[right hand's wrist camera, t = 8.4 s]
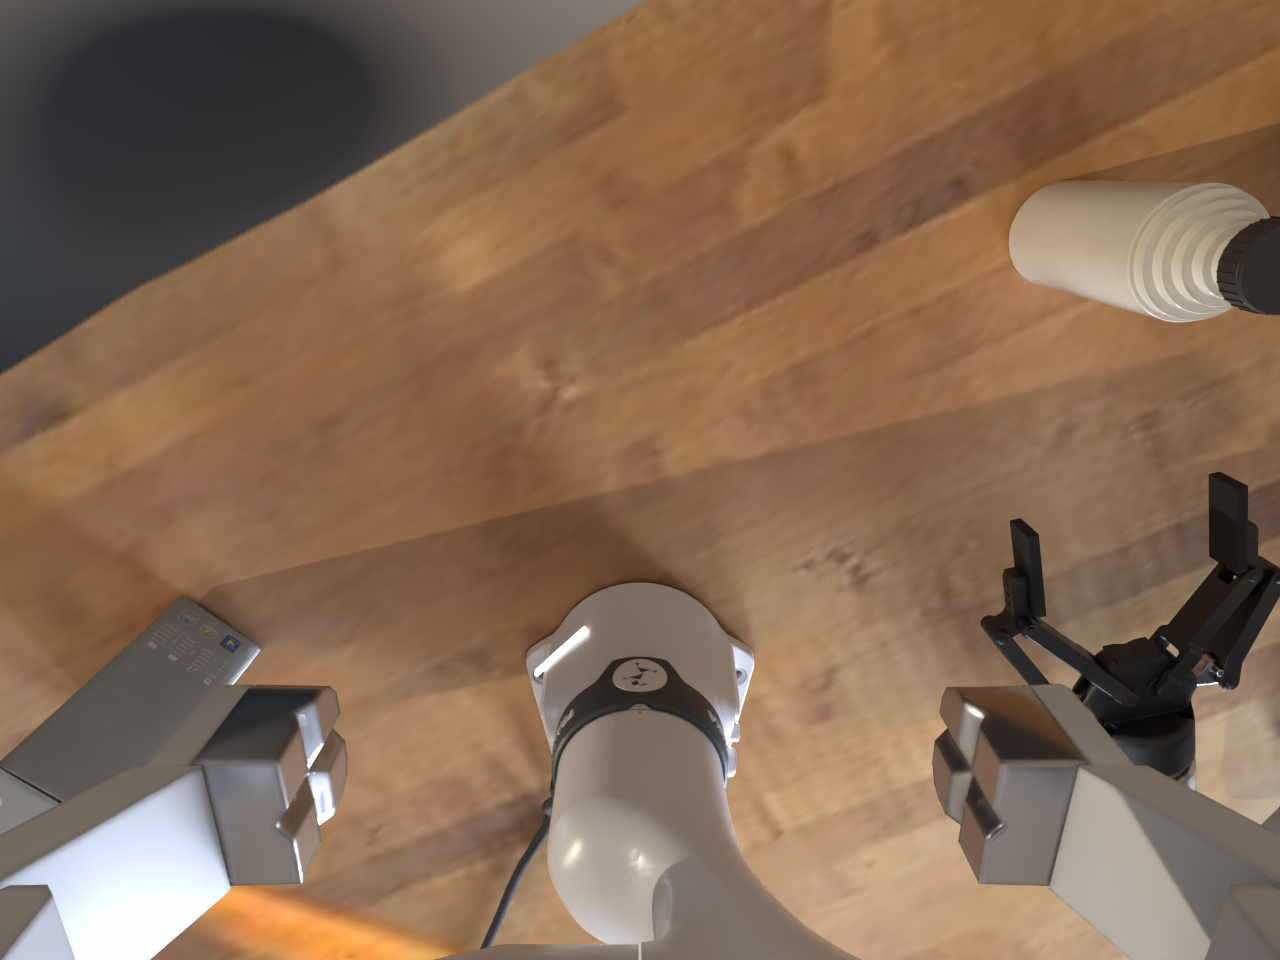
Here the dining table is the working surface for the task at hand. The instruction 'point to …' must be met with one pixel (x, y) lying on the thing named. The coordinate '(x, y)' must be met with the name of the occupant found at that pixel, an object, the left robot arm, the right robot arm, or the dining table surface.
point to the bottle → (1133, 242)
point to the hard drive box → (122, 711)
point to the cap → (1252, 268)
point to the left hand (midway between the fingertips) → (1124, 503)
